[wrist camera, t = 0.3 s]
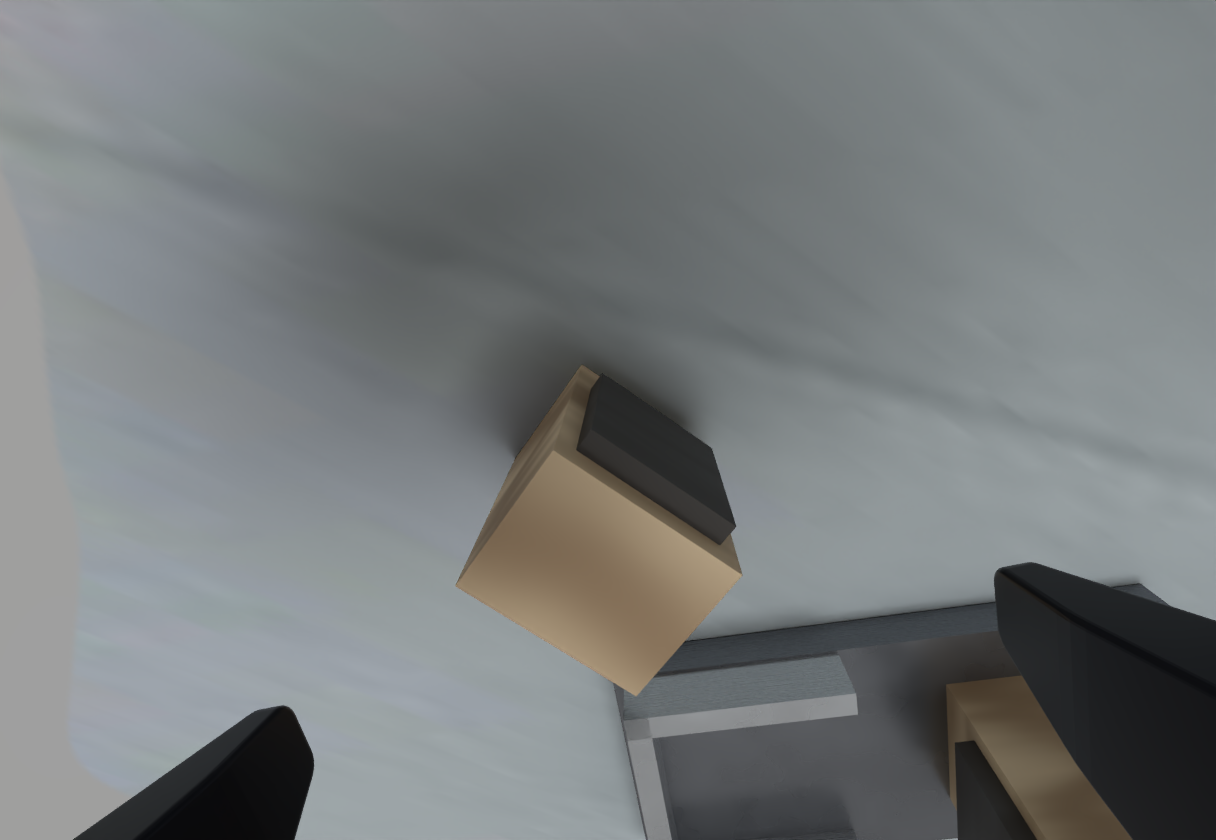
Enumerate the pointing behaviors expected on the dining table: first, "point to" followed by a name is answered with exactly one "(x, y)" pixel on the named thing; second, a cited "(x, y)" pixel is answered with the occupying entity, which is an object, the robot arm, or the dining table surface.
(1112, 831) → the block
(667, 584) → the block
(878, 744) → the rail
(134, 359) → the dining table surface
